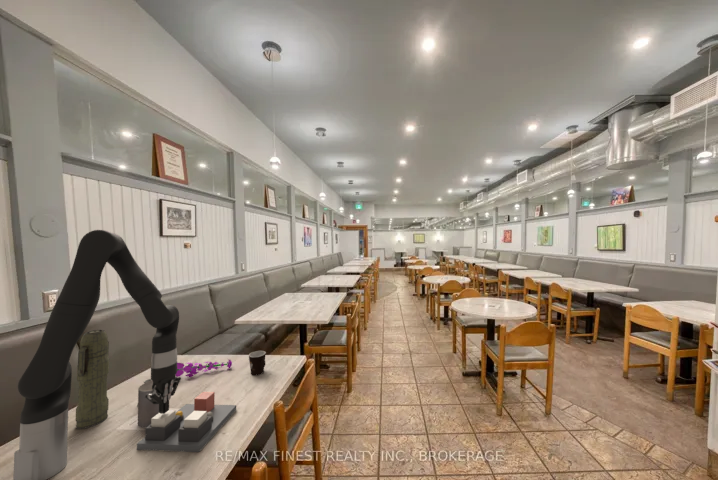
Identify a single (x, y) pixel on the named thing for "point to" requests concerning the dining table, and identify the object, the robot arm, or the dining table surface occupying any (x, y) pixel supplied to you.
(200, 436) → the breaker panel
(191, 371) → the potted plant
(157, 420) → the button
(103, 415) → the thermos
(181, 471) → the dining table surface
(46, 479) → the robot arm
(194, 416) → the block
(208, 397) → the cap
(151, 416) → the pillar candle
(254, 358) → the coffee mug
